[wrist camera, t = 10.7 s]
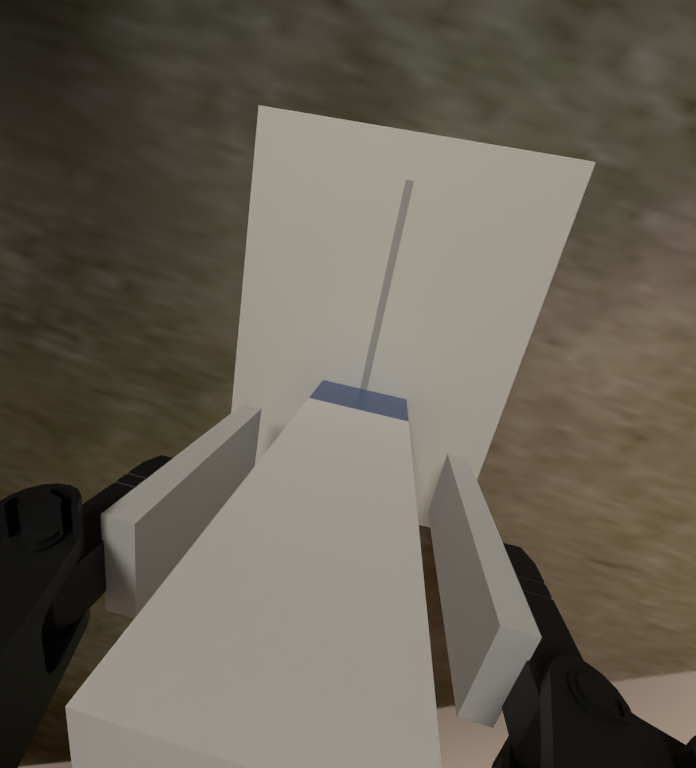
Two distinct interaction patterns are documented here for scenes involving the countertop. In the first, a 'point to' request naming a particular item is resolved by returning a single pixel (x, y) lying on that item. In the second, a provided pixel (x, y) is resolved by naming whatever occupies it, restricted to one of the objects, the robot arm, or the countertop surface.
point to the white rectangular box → (284, 617)
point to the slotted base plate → (396, 275)
